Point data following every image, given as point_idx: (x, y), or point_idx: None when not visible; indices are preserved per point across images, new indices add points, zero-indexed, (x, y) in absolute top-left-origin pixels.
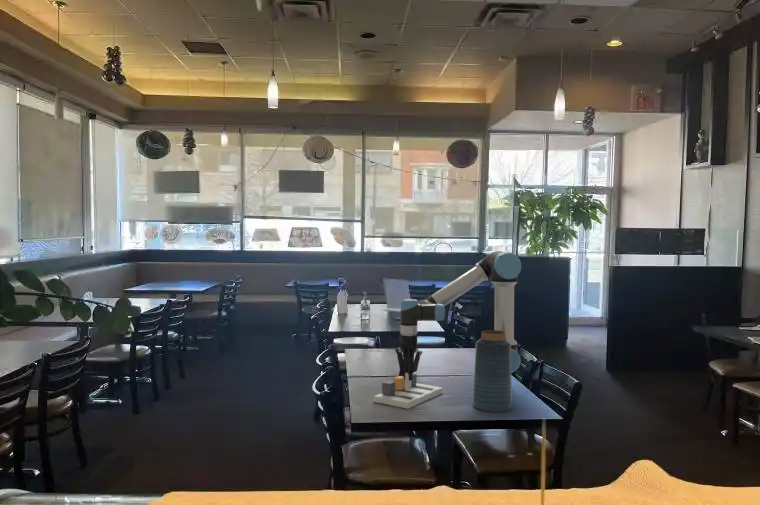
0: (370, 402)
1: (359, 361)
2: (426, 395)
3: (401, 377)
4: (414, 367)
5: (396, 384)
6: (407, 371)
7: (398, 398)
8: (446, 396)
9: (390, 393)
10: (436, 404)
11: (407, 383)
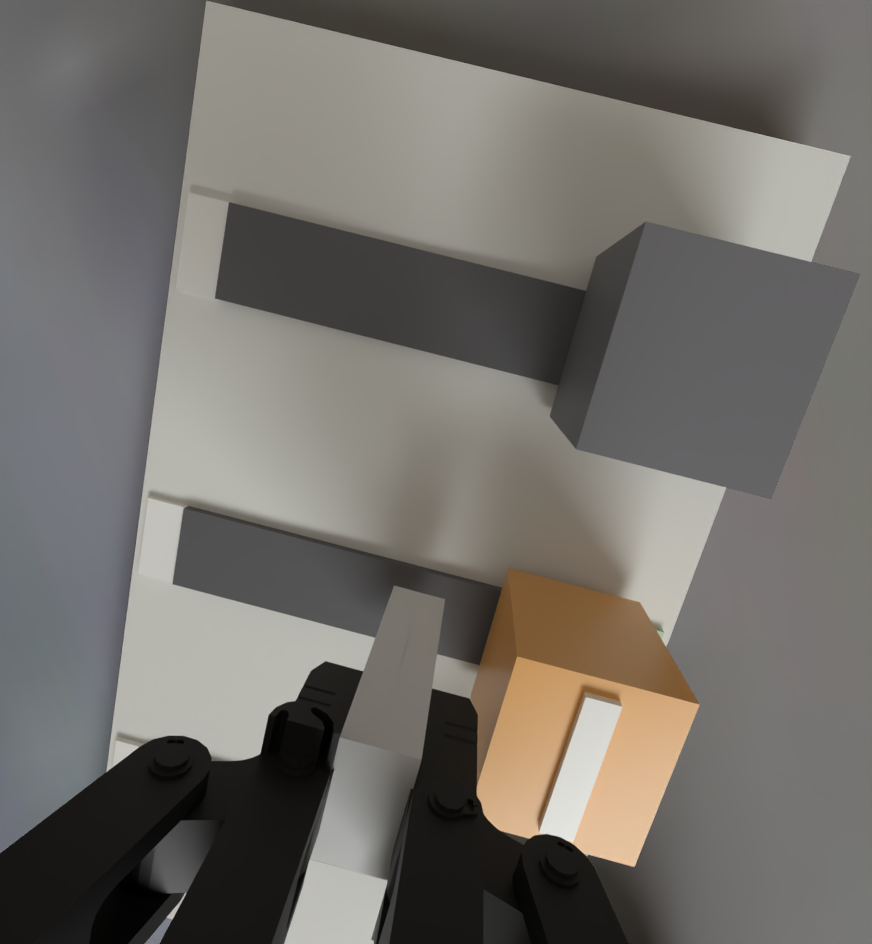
0: (847, 127)
1: None
2: (142, 537)
3: (545, 774)
4: (43, 845)
5: (598, 622)
6: (392, 857)
7: (425, 181)
8: (43, 740)
9: (595, 272)
10: (11, 398)
11: (392, 623)
